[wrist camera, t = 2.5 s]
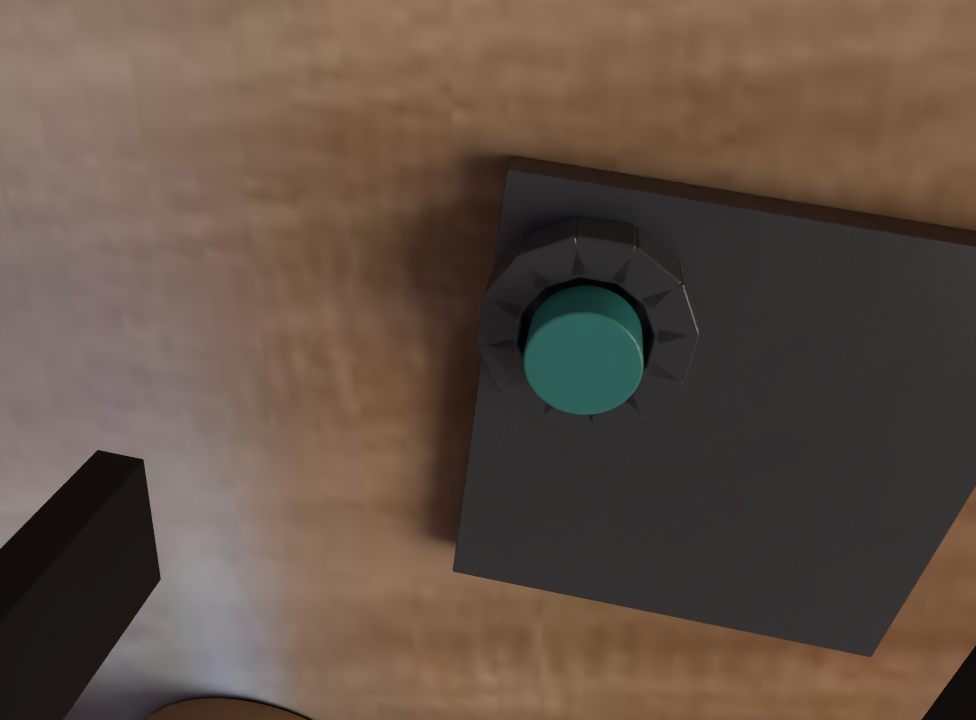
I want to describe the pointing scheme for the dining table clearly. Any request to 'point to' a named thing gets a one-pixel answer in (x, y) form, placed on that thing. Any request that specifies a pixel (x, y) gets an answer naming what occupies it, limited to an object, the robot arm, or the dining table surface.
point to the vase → (221, 711)
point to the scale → (727, 407)
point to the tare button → (584, 350)
